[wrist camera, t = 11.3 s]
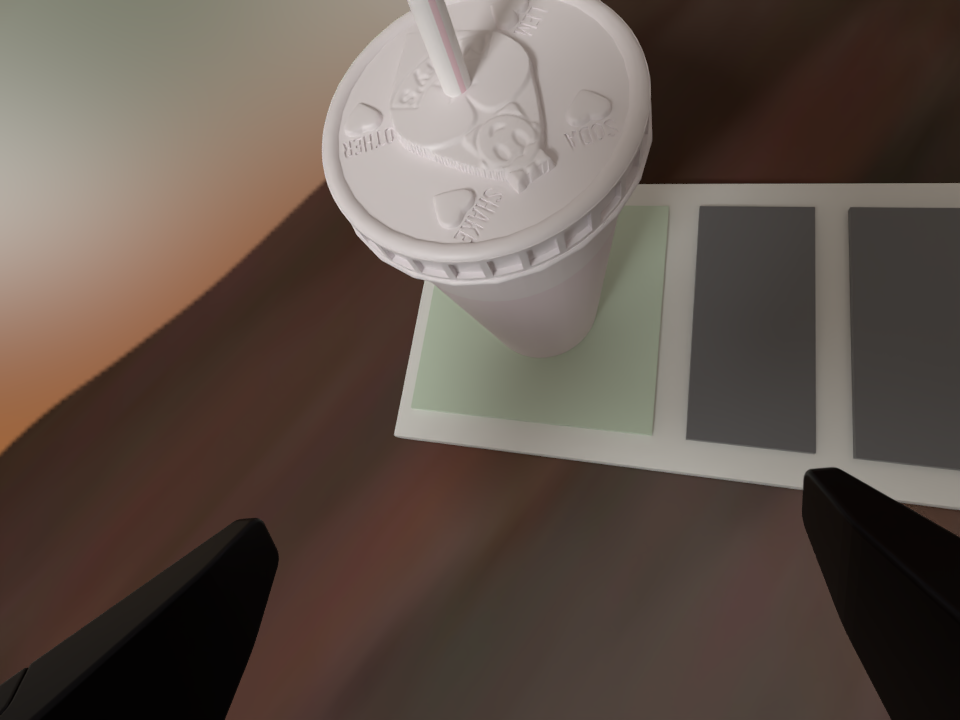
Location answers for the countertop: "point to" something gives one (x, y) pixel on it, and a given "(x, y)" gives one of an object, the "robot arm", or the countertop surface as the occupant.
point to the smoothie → (495, 156)
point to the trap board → (733, 345)
